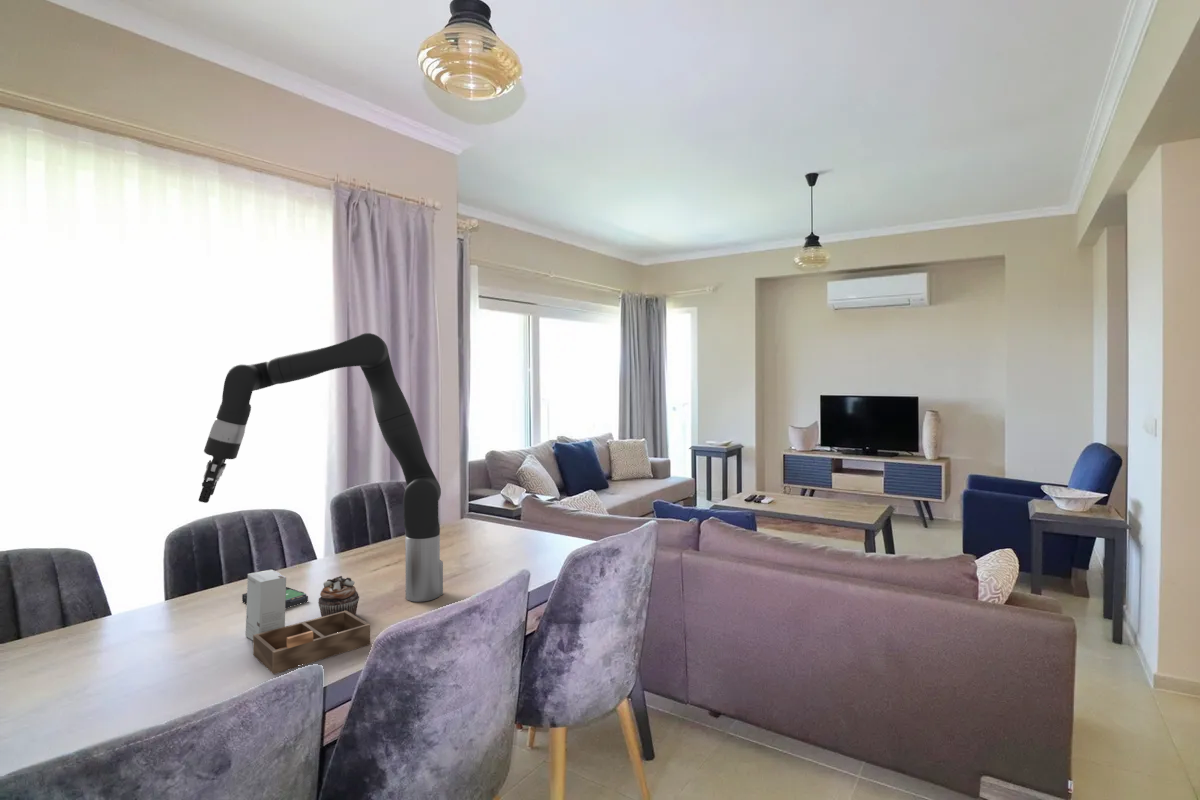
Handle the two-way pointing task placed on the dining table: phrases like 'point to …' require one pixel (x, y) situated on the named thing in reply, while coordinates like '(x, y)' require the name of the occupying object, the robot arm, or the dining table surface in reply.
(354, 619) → the compartment tray
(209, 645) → the dining table surface
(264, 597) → the skincare box
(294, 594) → the disk drive
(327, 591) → the cupcake
